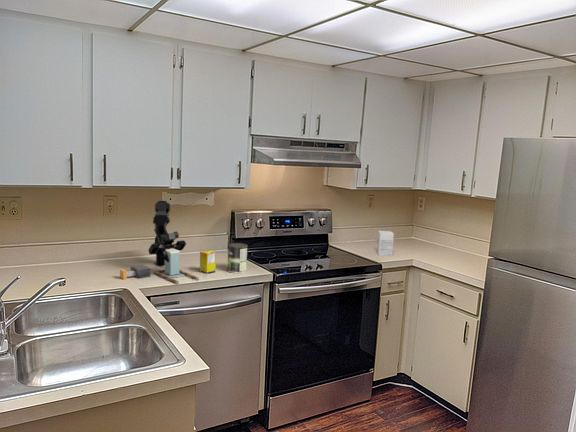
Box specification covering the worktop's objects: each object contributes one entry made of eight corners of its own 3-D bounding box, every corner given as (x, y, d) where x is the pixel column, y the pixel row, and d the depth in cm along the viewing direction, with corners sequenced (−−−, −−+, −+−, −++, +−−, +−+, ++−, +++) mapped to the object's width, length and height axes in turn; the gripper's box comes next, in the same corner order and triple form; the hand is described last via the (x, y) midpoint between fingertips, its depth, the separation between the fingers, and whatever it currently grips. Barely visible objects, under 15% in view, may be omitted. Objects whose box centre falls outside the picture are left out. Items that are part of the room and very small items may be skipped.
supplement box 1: (208, 269, 247) (208, 249, 246) (215, 272, 244) (216, 251, 242) (199, 271, 243) (199, 251, 241) (207, 274, 239) (207, 253, 238)
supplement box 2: (376, 252, 307) (377, 230, 305) (390, 253, 307) (391, 231, 305) (378, 255, 298) (380, 232, 296) (392, 256, 298) (394, 233, 296)
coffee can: (230, 273, 241) (230, 247, 239) (225, 268, 251) (225, 243, 249) (249, 272, 245) (249, 246, 243) (243, 267, 254) (244, 242, 252)
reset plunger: (120, 277, 226) (119, 269, 226) (133, 275, 231) (133, 267, 231) (123, 279, 223) (123, 271, 223) (137, 277, 228) (137, 269, 228)
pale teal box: (164, 272, 235) (164, 249, 233) (173, 270, 239) (173, 248, 237) (170, 275, 231) (170, 252, 229) (179, 273, 234) (179, 250, 232)
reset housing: (130, 274, 233) (130, 266, 232) (141, 272, 237) (141, 264, 236) (138, 278, 226) (138, 270, 225) (150, 276, 230) (150, 268, 230)
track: (153, 273, 236) (153, 271, 236) (175, 270, 244) (175, 267, 244) (176, 284, 220) (176, 281, 220) (198, 279, 228) (198, 277, 228)
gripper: (151, 228, 228) (162, 254, 221) (184, 224, 240) (195, 249, 234) (143, 241, 234) (154, 267, 228) (176, 237, 247) (187, 261, 241)
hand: (173, 261), depth 233 cm, fingers closed on pale teal box, 5 cm apart
